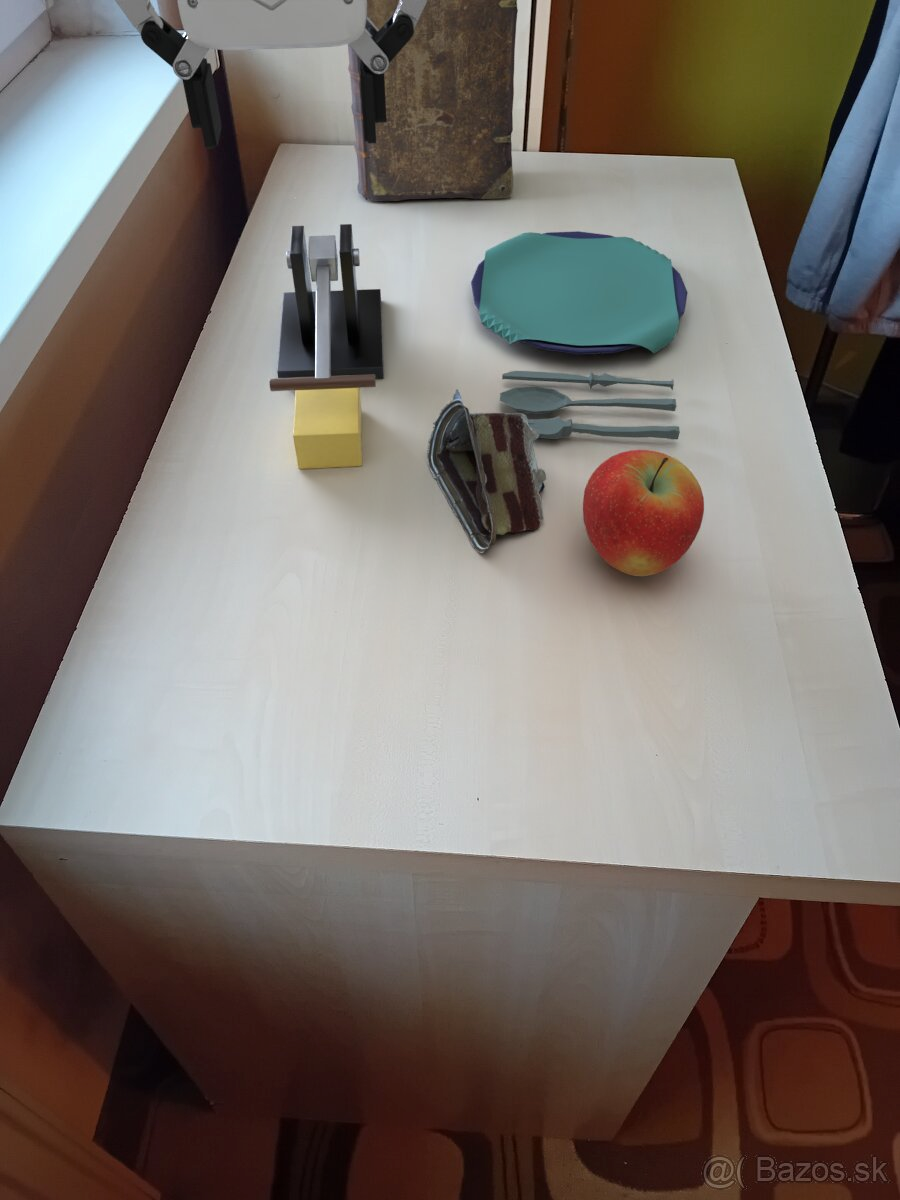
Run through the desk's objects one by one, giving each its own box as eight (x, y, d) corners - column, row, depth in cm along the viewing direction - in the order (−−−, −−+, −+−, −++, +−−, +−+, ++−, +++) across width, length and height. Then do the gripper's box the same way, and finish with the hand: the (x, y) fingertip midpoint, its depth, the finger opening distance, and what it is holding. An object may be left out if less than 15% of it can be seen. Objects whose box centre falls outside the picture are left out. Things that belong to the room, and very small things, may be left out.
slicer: (383, 378, 83) (377, 276, 76) (279, 383, 83) (261, 281, 75) (381, 300, 91) (374, 200, 83) (285, 303, 91) (270, 203, 83)
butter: (298, 469, 76) (292, 436, 73) (301, 412, 80) (296, 378, 78) (362, 466, 76) (358, 433, 73) (361, 409, 81) (358, 376, 78)
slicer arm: (376, 396, 75) (374, 374, 72) (272, 400, 74) (267, 378, 72) (371, 257, 83) (369, 233, 81) (277, 260, 82) (273, 237, 80)
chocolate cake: (574, 546, 71) (566, 381, 70) (491, 553, 68) (481, 380, 67) (509, 548, 80) (500, 401, 79) (432, 554, 76) (422, 401, 76)
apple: (626, 501, 74) (646, 395, 66) (711, 559, 70) (743, 454, 62) (552, 554, 70) (565, 449, 62) (638, 618, 66) (662, 514, 59)
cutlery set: (676, 253, 96) (680, 231, 94) (701, 453, 77) (707, 431, 75) (477, 244, 97) (478, 222, 95) (453, 440, 78) (453, 417, 76)
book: (355, 203, 102) (333, -73, 83) (359, 171, 107) (339, -98, 88) (512, 203, 102) (527, -74, 83) (510, 171, 107) (522, -99, 88)
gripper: (49, -202, 44) (142, 170, 57) (431, -208, 44) (435, 160, 58) (79, -237, 48) (158, 113, 62) (423, -242, 49) (429, 105, 62)
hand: (292, 136), depth 60 cm, fingers open, 9 cm apart
